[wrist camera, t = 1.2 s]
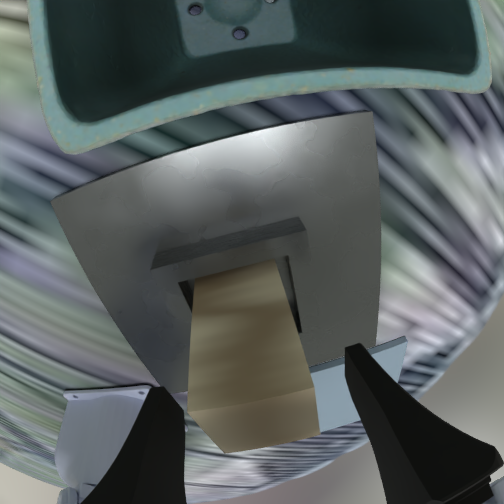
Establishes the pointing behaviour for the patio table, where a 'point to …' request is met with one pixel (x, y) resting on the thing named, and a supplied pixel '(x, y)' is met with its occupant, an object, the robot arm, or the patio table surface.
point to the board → (336, 390)
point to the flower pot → (237, 56)
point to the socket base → (237, 234)
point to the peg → (248, 362)
